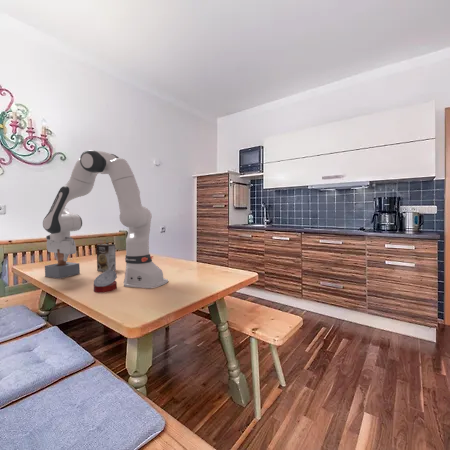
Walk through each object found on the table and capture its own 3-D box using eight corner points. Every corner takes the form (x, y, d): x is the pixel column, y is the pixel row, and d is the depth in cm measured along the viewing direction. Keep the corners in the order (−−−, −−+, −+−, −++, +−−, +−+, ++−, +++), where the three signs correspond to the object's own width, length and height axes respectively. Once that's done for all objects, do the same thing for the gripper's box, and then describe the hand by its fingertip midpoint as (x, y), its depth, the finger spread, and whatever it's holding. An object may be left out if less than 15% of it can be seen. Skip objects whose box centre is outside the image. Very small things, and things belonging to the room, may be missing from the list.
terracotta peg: (68, 269, 145) (67, 248, 144) (61, 270, 141) (60, 249, 141) (63, 268, 147) (62, 248, 146) (56, 270, 143) (55, 249, 142)
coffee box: (96, 270, 154) (95, 244, 153) (104, 268, 160) (104, 243, 159) (108, 272, 151) (107, 245, 150) (116, 269, 157) (115, 243, 156)
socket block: (79, 273, 147) (79, 263, 147) (59, 278, 136) (58, 267, 136) (66, 271, 152) (65, 261, 152) (45, 276, 141) (44, 265, 141)
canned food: (117, 298, 119) (122, 281, 116) (94, 301, 112) (99, 283, 109) (110, 282, 127) (115, 266, 123) (88, 284, 120) (93, 267, 116)
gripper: (78, 236, 142) (79, 261, 143) (55, 235, 150) (56, 258, 151) (68, 238, 136) (68, 263, 137) (43, 236, 144) (44, 260, 145)
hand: (61, 260), depth 144 cm, fingers closed on terracotta peg, 4 cm apart
